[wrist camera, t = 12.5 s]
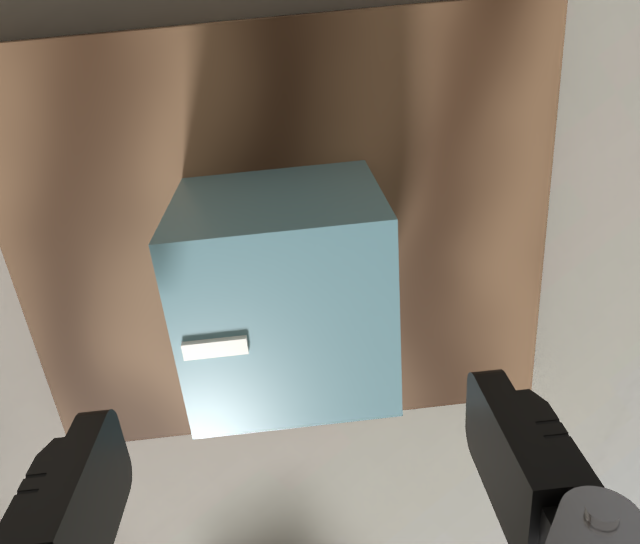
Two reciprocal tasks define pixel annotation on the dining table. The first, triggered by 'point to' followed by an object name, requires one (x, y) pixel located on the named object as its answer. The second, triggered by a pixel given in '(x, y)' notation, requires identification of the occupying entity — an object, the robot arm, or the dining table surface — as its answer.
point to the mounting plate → (274, 153)
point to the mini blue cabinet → (282, 298)
